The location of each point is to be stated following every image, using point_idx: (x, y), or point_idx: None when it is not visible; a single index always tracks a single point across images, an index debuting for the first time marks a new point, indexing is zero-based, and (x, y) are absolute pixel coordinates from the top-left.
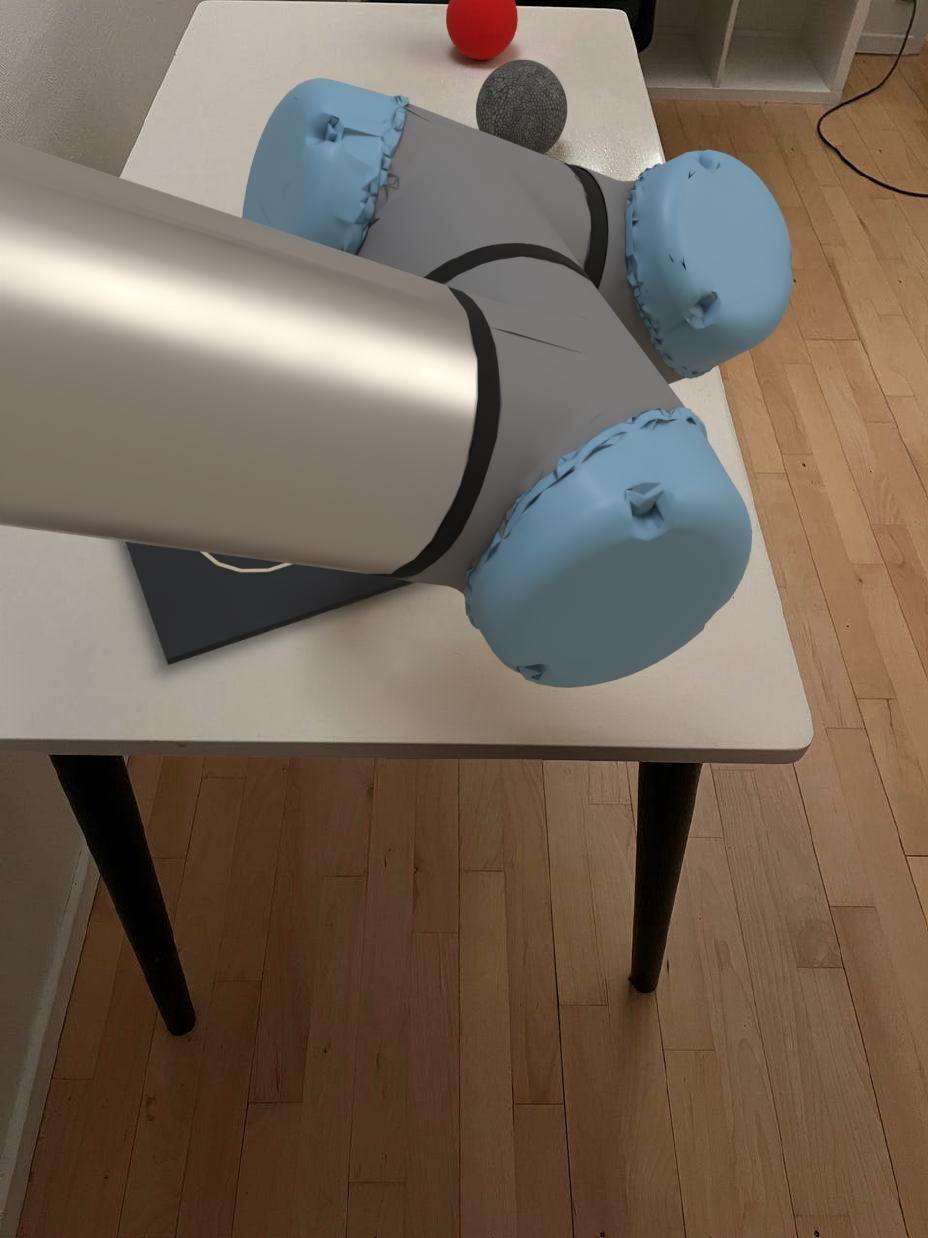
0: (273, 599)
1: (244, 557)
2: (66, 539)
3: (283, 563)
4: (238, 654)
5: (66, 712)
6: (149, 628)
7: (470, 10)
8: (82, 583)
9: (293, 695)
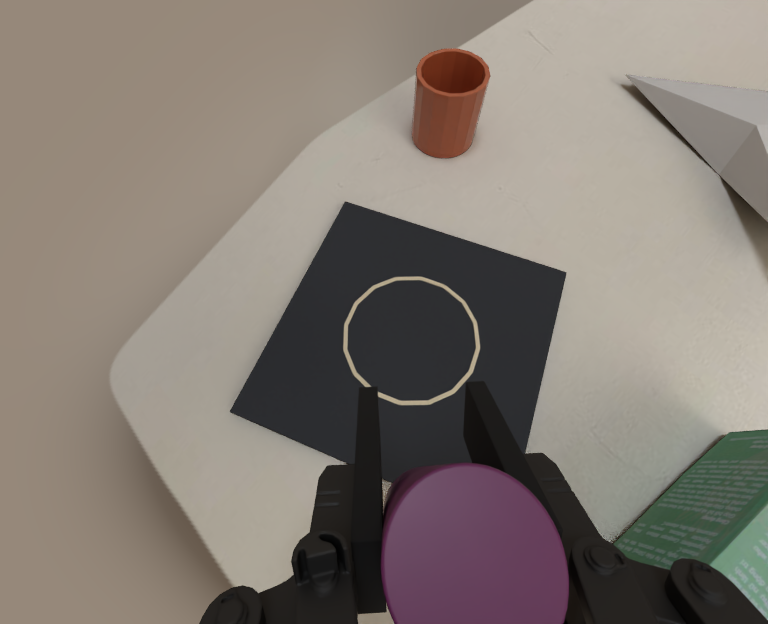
0: (352, 427)
1: (369, 360)
2: (280, 233)
3: (392, 396)
4: (283, 454)
5: (139, 390)
6: (253, 363)
7: None
8: (254, 280)
9: (281, 548)
